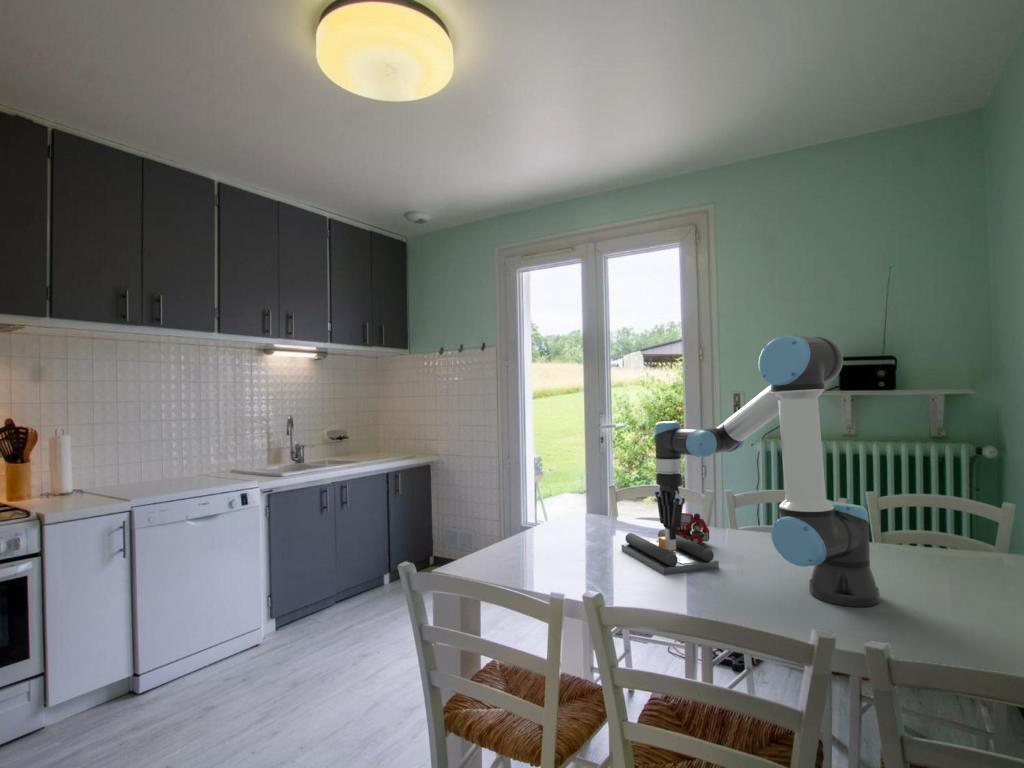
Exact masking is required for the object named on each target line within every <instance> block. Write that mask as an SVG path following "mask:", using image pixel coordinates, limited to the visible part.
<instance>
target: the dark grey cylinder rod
mask: <svg viewBox="0 0 1024 768" xmlns="http://www.w3.org/2000/svg"><path fill="white" fill-rule="evenodd" d="M649 541H650V540H647V539H644V537H641V536H639V535H637V534H635V533H633V532H630V533H627V534H626V535H625V542H626V544H630V545H632V546H634V547H636V548H637V549H639V550H641V551H643V552H645V553H647V554H649V555H650V556H652V557H654V558H656V559H658V560H660V561H661V562H663V563H665V564H667V565H669V566H674V565H676V564H677V561H678V559H677V556H676V555H675V554H673V553H671V552H669V551H667V550H665V549H663V548H661V547H659V546H657V545H655V544H653V543H651V542H649Z"/></svg>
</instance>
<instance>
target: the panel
mask: <svg viewBox="0 0 1024 768" xmlns="http://www.w3.org/2000/svg"><path fill="white" fill-rule="evenodd" d="M648 541H649V542H651V543H653V544H655V545H657V546H659V539H658V540H648ZM621 551H622V552H624V553H625V554H627V555H628V556H630V557H632V558H634V559H635V560H638V562H641V563H643V564H645V565H646V566H647V567H650V568H651V569H653V570H655V571H656V572H658V573H659V574H661V575H663V576H666V575H668V576H669V575H674V574H683V573H691V572H697V571H699V572H700V571H705V570H711V569H713V570H714V569H719V568H720V566H719V565H720V564H719V562H720V561H719V560H717V559H715V558H713V559H712V560H711V561H704V560H702V559H700V558H698V557H696V556H694V555H692V554H690V553H687V552H685V551H683V550H681V549H679V548H677V547H676V551H674V552H671V553H673V554H675V555H676V556H677V559H678V561H677V564H676V565H674V566H669V565H667V564H665V563H663V562H661V561H660V560H658V559H656V558H654V557H652V556H650V555H649V554H647V553H645V552H643V551H641V550H639V549H637V548H636V547H634V546H632V545H630V544H628V543H623V544H622V543H621Z"/></svg>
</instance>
